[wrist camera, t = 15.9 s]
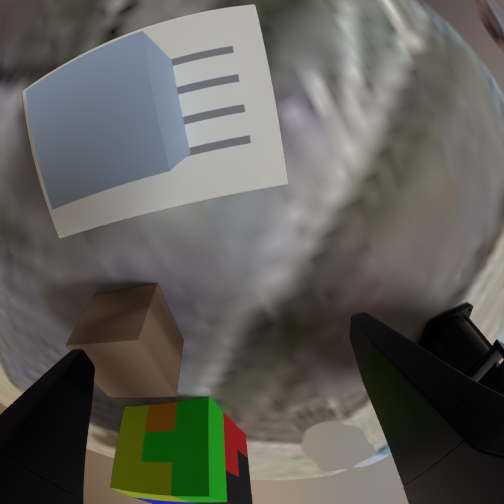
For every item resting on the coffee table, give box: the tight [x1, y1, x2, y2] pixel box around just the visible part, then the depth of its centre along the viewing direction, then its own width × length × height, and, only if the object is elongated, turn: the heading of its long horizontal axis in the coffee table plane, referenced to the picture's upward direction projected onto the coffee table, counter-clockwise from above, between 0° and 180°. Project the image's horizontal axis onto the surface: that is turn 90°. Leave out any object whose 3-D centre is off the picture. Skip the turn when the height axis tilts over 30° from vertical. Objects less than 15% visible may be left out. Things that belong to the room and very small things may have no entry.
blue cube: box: [26, 31, 190, 210], centre depth 9 cm, size 5×5×5 cm
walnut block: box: [66, 283, 184, 398], centre depth 15 cm, size 5×5×5 cm
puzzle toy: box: [110, 397, 252, 504], centre depth 20 cm, size 10×10×10 cm
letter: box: [22, 5, 288, 239], centre depth 11 cm, size 14×10×1 cm
